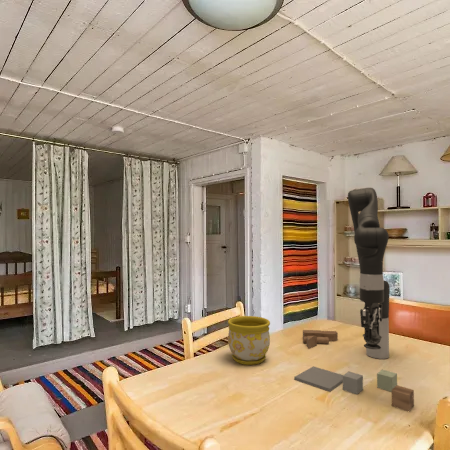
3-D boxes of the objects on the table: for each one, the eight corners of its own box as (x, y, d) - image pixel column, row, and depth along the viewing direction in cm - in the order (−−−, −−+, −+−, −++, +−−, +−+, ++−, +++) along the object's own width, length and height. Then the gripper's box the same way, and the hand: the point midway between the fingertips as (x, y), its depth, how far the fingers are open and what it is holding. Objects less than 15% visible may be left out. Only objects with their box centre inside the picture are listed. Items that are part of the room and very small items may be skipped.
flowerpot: (221, 363, 142) (221, 323, 143) (236, 350, 159) (236, 314, 159) (263, 370, 136) (263, 328, 136) (274, 355, 152) (274, 318, 153)
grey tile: (313, 368, 137) (313, 366, 137) (347, 379, 128) (347, 376, 128) (294, 379, 127) (294, 376, 127) (329, 391, 118) (329, 388, 118)
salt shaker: (383, 350, 112) (383, 313, 112) (364, 349, 113) (364, 312, 113) (379, 344, 118) (379, 309, 118) (361, 343, 119) (360, 308, 119)
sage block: (382, 383, 124) (382, 369, 125) (397, 387, 121) (396, 373, 121) (377, 387, 121) (377, 373, 121) (392, 392, 117) (392, 377, 117)
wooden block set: (300, 327, 178) (336, 328, 176) (300, 338, 177) (336, 339, 176) (306, 337, 161) (345, 338, 159) (306, 349, 160) (345, 351, 159)
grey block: (348, 385, 123) (348, 371, 123) (362, 389, 119) (362, 375, 119) (342, 390, 119) (342, 375, 119) (357, 394, 116) (356, 379, 116)
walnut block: (396, 400, 112) (396, 385, 112) (413, 406, 108) (413, 389, 108) (391, 406, 108) (391, 390, 108) (409, 412, 105) (408, 395, 105)
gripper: (368, 283, 123) (368, 330, 123) (351, 288, 113) (352, 340, 113) (390, 285, 118) (390, 335, 118) (375, 291, 108) (375, 345, 107)
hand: (372, 337), depth 115 cm, fingers closed on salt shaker, 6 cm apart
